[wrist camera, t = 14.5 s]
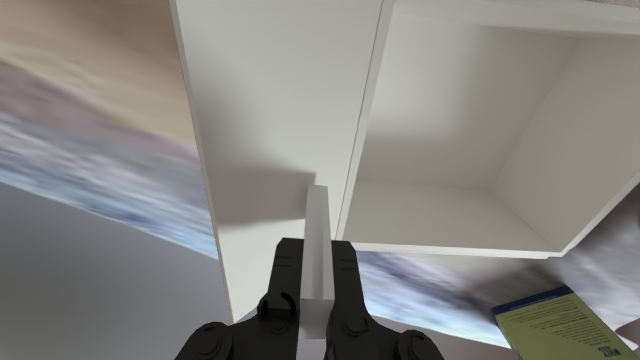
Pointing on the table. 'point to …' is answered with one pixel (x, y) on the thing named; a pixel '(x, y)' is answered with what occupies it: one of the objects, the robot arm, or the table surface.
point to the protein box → (558, 329)
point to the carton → (494, 127)
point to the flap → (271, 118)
